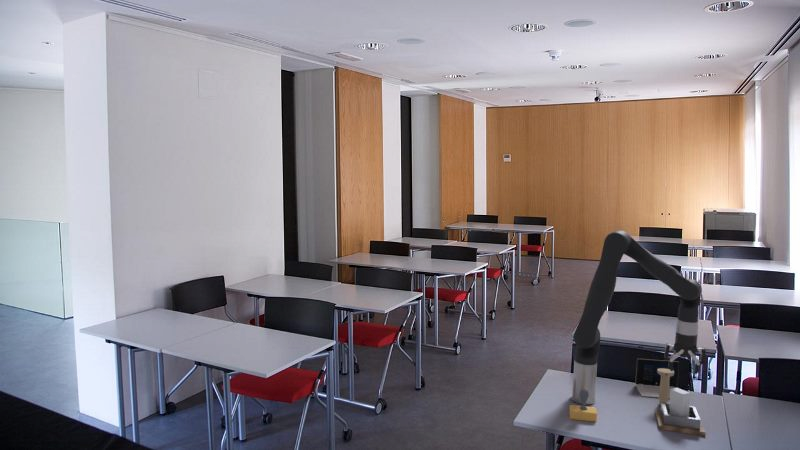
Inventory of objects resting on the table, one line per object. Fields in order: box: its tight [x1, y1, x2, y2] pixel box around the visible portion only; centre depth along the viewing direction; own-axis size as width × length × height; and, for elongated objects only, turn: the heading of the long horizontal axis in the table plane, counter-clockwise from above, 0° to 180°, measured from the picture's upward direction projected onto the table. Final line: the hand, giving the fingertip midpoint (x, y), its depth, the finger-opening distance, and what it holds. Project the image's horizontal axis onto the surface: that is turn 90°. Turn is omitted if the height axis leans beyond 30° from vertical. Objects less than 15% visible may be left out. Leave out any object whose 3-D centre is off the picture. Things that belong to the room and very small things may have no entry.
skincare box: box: [669, 387, 691, 417], centre depth 226 cm, size 6×4×12 cm
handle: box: [657, 368, 674, 406], centre depth 243 cm, size 5×6×15 cm
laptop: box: [634, 358, 680, 399], centre depth 255 cm, size 18×12×13 cm
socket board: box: [654, 402, 707, 437], centre depth 226 cm, size 16×15×6 cm
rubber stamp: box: [568, 389, 598, 422], centre depth 230 cm, size 10×6×12 cm, turn 78°
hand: (683, 372), depth 224 cm, fingers open, 8 cm apart
